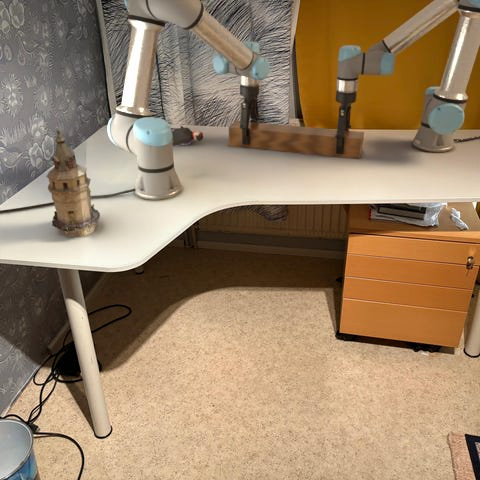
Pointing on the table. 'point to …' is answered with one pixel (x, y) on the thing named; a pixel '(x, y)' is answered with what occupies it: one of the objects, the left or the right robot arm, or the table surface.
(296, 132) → the wide beam
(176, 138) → the toy
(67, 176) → the miniature building
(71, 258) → the table surface
